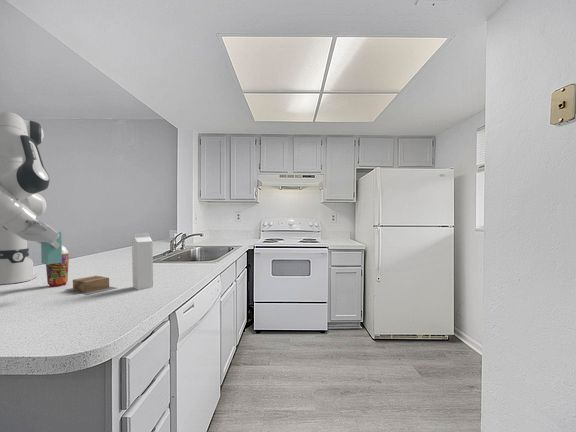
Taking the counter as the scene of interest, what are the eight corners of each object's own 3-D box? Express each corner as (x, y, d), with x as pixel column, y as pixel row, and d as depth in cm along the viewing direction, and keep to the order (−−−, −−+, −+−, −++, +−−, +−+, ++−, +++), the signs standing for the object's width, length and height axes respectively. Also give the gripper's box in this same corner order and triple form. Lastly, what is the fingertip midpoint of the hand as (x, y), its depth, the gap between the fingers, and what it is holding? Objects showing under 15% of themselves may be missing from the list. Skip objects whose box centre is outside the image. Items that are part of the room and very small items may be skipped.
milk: (153, 288, 134) (152, 233, 133) (137, 290, 130) (137, 234, 129) (147, 285, 138) (147, 232, 138) (132, 287, 134) (131, 233, 134)
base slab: (73, 289, 129) (72, 279, 129) (96, 285, 137) (96, 275, 137) (86, 292, 125) (85, 282, 125) (109, 287, 133) (109, 277, 133)
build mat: (64, 290, 130) (64, 289, 130) (94, 284, 140) (94, 283, 140) (87, 296, 122) (87, 294, 122) (118, 289, 132) (118, 288, 132)
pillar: (41, 263, 120) (40, 232, 120) (55, 261, 124) (54, 231, 124) (47, 264, 118) (47, 233, 117) (61, 262, 122) (61, 232, 121)
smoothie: (49, 289, 132) (48, 239, 132) (42, 286, 137) (41, 237, 137) (73, 285, 139) (72, 237, 138) (65, 282, 144) (64, 236, 143)
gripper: (43, 213, 109) (75, 241, 118) (14, 213, 119) (46, 238, 128) (27, 228, 105) (61, 255, 114) (-1, 226, 116) (33, 251, 124)
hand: (53, 246), depth 121 cm, fingers closed on pillar, 4 cm apart
